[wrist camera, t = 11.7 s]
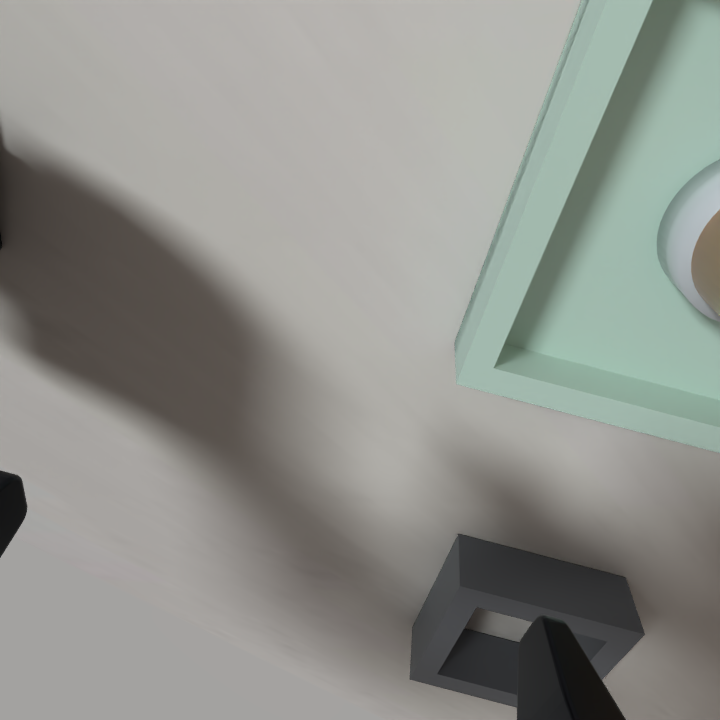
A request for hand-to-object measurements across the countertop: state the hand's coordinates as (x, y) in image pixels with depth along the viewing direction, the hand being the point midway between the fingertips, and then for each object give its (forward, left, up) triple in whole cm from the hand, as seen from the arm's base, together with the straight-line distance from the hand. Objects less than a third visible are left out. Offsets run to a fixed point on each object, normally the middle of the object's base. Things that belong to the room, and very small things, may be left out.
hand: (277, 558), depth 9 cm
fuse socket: (+12, -17, -13) cm, 25 cm away
